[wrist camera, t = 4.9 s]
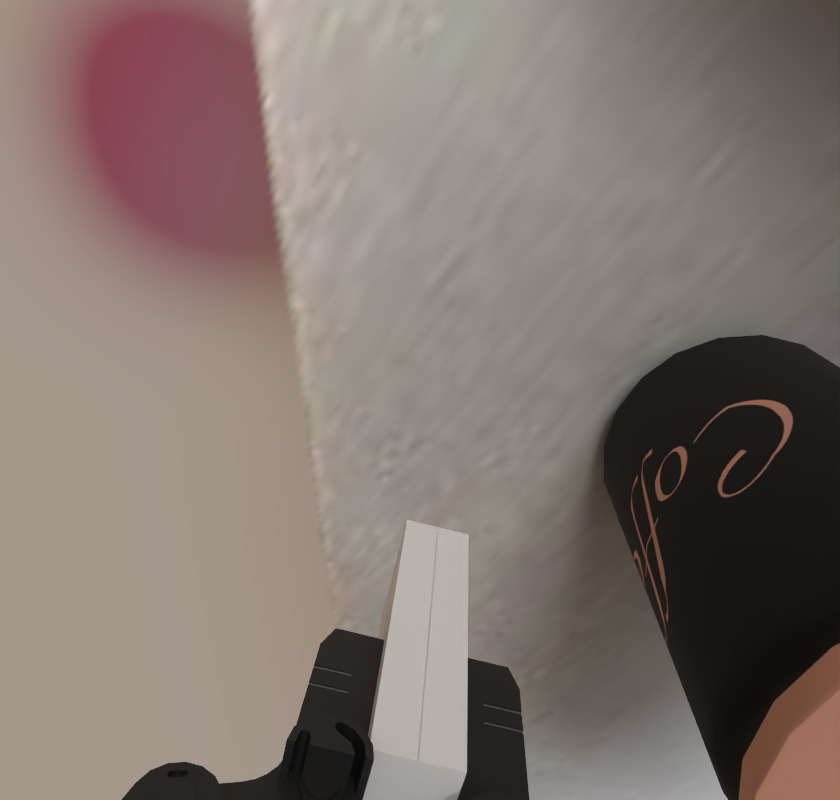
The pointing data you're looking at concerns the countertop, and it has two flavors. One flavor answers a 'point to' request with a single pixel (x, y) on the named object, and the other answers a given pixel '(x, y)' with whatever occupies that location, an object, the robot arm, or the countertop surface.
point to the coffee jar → (742, 551)
